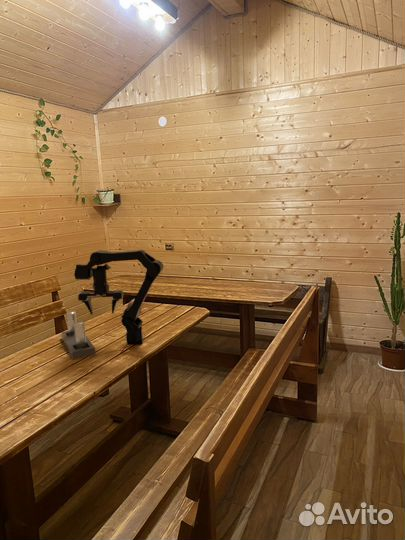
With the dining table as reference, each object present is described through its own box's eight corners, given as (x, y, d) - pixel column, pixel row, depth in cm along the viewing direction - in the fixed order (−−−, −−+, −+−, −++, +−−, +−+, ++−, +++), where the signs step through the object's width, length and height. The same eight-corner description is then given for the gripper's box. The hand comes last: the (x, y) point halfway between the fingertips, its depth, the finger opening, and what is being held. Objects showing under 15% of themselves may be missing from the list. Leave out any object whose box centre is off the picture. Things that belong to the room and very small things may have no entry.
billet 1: (79, 337, 182) (76, 311, 179) (77, 341, 178) (74, 313, 175) (70, 338, 181) (67, 311, 179) (68, 341, 177) (65, 314, 175)
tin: (132, 318, 208) (131, 303, 207) (127, 318, 209) (125, 303, 207) (142, 310, 223) (141, 296, 221) (137, 310, 223) (136, 296, 222)
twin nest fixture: (81, 334, 186) (81, 328, 185) (95, 354, 162) (94, 347, 161) (61, 338, 182) (61, 332, 181) (73, 359, 157) (72, 352, 157)
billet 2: (88, 350, 166) (85, 321, 164) (85, 354, 162) (83, 324, 160) (78, 351, 166) (75, 321, 163) (76, 354, 162) (73, 325, 160)
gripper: (124, 275, 179) (125, 308, 182) (82, 276, 178) (85, 309, 181) (120, 280, 168) (122, 315, 171) (76, 281, 167) (79, 316, 170)
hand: (102, 313), depth 173 cm, fingers open, 9 cm apart
